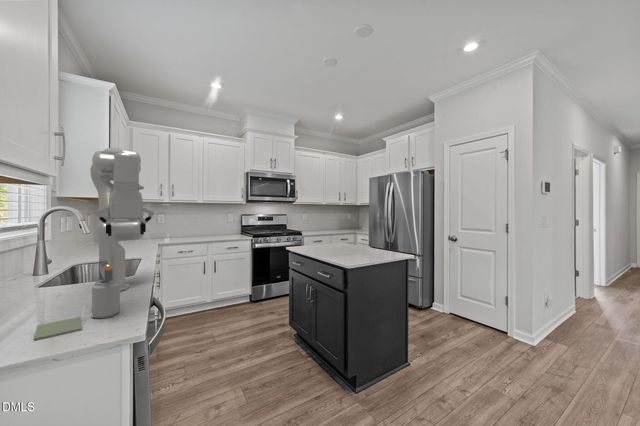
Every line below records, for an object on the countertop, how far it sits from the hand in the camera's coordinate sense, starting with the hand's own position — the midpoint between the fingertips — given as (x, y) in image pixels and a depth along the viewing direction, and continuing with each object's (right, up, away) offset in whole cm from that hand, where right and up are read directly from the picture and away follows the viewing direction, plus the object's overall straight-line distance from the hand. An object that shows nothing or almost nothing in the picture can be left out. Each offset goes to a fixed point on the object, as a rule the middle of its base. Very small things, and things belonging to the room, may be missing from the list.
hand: (126, 234), depth 98 cm
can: (-3, -28, -5) cm, 28 cm away
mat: (-9, -27, -16) cm, 33 cm away
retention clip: (-5, -26, -4) cm, 27 cm away
